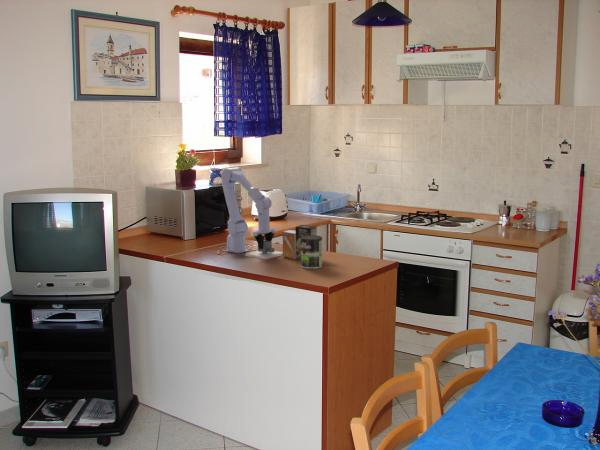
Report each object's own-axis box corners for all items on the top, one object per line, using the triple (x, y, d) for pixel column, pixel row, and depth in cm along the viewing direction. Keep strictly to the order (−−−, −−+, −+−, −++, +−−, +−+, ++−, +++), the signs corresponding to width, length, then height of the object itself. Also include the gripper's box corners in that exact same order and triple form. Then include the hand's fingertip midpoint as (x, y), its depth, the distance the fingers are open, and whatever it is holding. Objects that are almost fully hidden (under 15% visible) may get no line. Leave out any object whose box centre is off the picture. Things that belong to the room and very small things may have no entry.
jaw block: (257, 251, 352) (257, 241, 351) (264, 249, 356) (264, 240, 355) (269, 253, 347) (269, 243, 346) (276, 251, 351) (275, 241, 350)
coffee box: (294, 258, 344) (294, 226, 341) (301, 255, 349) (301, 224, 347) (310, 260, 339) (310, 228, 336) (317, 257, 345) (317, 226, 342)
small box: (282, 256, 348) (282, 231, 346) (290, 254, 353) (290, 229, 351) (294, 259, 343) (294, 233, 341) (302, 256, 348) (302, 231, 345)
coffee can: (311, 270, 320) (311, 240, 317) (296, 266, 327) (295, 237, 324) (327, 266, 327) (326, 236, 324) (311, 263, 334) (311, 234, 332)
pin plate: (245, 256, 352) (245, 246, 351) (264, 251, 362) (263, 241, 362) (265, 259, 343) (265, 249, 342) (284, 254, 354) (283, 244, 353)
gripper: (259, 224, 342) (260, 251, 344) (279, 220, 353) (279, 246, 355) (249, 223, 346) (250, 249, 349) (269, 219, 357) (269, 244, 360)
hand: (264, 247), depth 352 cm, fingers closed on jaw block, 5 cm apart
